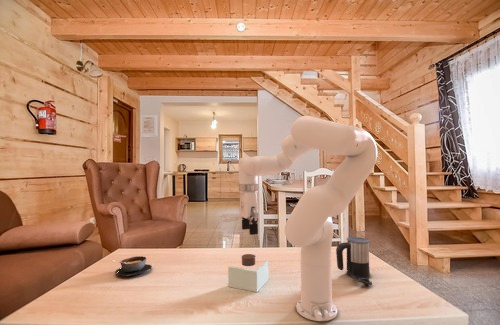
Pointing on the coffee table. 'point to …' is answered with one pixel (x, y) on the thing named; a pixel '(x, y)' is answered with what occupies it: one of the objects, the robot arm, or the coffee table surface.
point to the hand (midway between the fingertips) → (249, 231)
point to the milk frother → (355, 258)
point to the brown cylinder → (248, 260)
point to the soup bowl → (133, 266)
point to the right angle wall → (248, 277)
